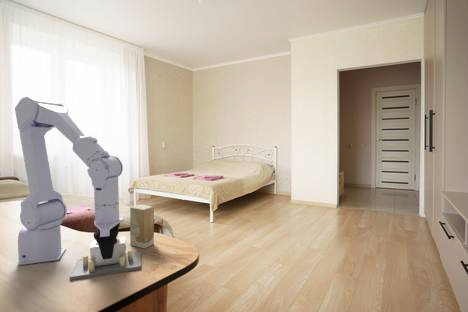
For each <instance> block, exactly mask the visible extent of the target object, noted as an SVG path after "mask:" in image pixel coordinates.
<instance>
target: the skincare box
mask: <svg viewBox="0 0 468 312" xmlns="http://www.w3.org/2000/svg"><path fill="white" fill-rule="evenodd" d="M129 211H130V212H129V213H130V216H129V220H130V221H129V224H130V225H129V227H130V229H129V230H130V231H129V233H130V234H129V239H130V241H129V242H130V243H129V244H130V245H131V246H134V247H138V248H142V249H146V248H149V247H150V246H152V245H154V244H155V240H154V239H155V238H154V237H155V233H154V232H155V224H154V223H155V206H151V205H145V204H141V203H140V204H138V205H137V204H136V205H134V206H130V207H129Z"/></svg>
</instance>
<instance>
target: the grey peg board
mask: <svg viewBox="0 0 468 312" xmlns="http://www.w3.org/2000/svg"><path fill="white" fill-rule="evenodd" d="M126 247H127V246H126V245H125V249H126ZM126 250H127V249H126ZM141 257H142V254H141V250H138V251H133V249H128V250H127V252H126V257H125V256H121V257H120V263H113V264H106V265H100V266H94V260H91V258H90V257H89V255H83V256H82V258H81V259H80V258H79V259H77V260H76V262H75V265H74V267H73V269H72V271H71V273H70V275H69V281H74V280H80V279H86V278H87V279H88V278H93V277H100V276H107V275H112V274H119V273H126V272H131V271H139V270H142V258H141Z"/></svg>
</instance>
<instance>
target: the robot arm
mask: <svg viewBox="0 0 468 312" xmlns="http://www.w3.org/2000/svg"><path fill="white" fill-rule="evenodd" d="M14 111H15V117H16V124H17V128H18V131H19V136H20V144H21V148H22V154H23V155H22V156H23V160H24V161H23V162H24V167H25V173H26V178H27V183H28V184H27V185H28V190H29V194H28V195H27V196H26V197H25V198H24V199H23V200H22V201H21V202H20V208H21V209H20V214H19V219H20V223H21V224H22V226H23V228H21V229H20V230H19V233H18V237H17V251H18V252H17V254H18V263H17V265H18V266H23V265H29V264H38V263H45V262H53V261H59V260H60V259H61V257H62V256H63V255H64V252H66V250H67V249H66V247H62V233H61V229H62V228H61V224H62V223H63V219H64V218H66V216H67V212H68V209H67V205H66V204H65V202H64V199H63V195H62V194H61V193H59V192H58V191H55V189H54V187H53V186H54V185H53V181H52V180H53V179H52V174H51V168H50V163H49V157H48V152H47V146H46V140H45V135H46V134H47V133H48V132H50V131H51V130H53V129H54V128H56V129H57V131H59V132H60V133H61V134H62V135H63V136H64V137H65V138H66V139H67V140H69V141H70V142H71V144H72V151H73V152H74V153H75V155H76V156H77V157H78V158H79V159H80V160H81V161H82V162H83V163H84V164H85V165H86V167H88V168H87V175H88V176H89V178H90V180H91V186H92V187H93V189H94V190H93V198H94V199H93V200H94V201H93V202H94V221H93V224H94V226H95V227H96V228H97V229H96V230H98V231H94V232H93V238H94V241H97V243H98V245H99V248H100V251H101V255H102V258H103V260H104V259H111V258H112V256H113V250H114V243H115V240H116V238H118V236H119V233H120V231H119V228H120V225H121V223H124V222H125V218H124V217H120V199H119V197H120V195H119V177H120V176H121V175H122V173H123V170H124V169H123V166H124V165H123V163H122V161H121V160H120V158H119V157H118V156H115V155H111V154H110V153H109V152H108V151H106V150H105V149H104V148H103V147H102V146H101V145H100V144H99V143H98V139H97V138H96V137H92V136H90V135H85V134H84V133H83V132H82V130H81V129H80V128H79V127H78V125H77V124H76V122H74V121H73V119H72V118H71V117H70V116H69V114H68V113H69V112H68V108H66V107H65V105H64V104H62V103H61V102H60V101H56V100H55V101H53V100H46V99H39V98H34V97H33V98H32V97H30V96H25V97H22V98H20V100H19V101H18V103H17V104H16V106H15V107H14Z"/></svg>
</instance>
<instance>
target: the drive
mask: <svg viewBox="0 0 468 312" xmlns="http://www.w3.org/2000/svg"><path fill="white" fill-rule="evenodd" d="M125 246H126V237H125V236H123V237H116V240H115V243H114V250H113V256H112V258H111V259H104V260H103V258H102V255H101V251H100V248H99V245H98V243H97V241H96V240H92V242H91V244H90V247H89V252H90V256H89V258H91V260H94V266H100V265H106V264H113V263H120V257H121V256H125V257H126V253H127V252H126V251H127V249H125Z"/></svg>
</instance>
